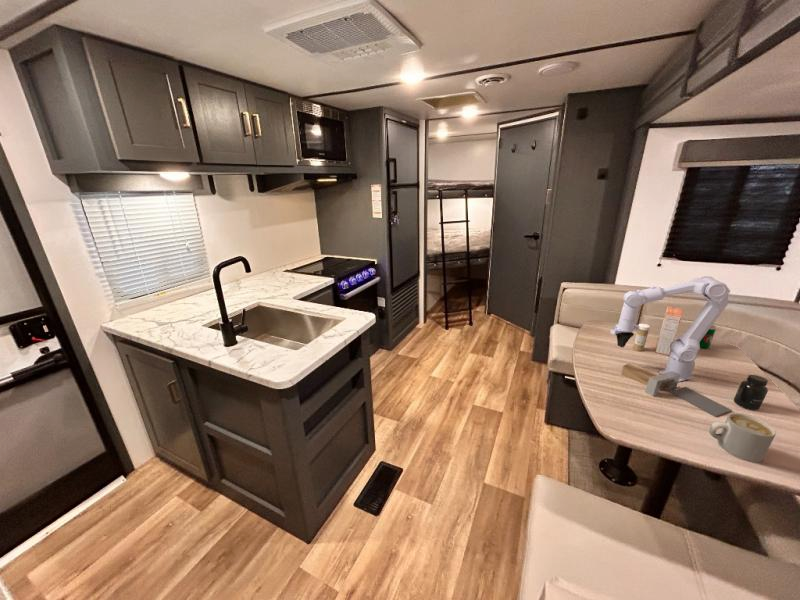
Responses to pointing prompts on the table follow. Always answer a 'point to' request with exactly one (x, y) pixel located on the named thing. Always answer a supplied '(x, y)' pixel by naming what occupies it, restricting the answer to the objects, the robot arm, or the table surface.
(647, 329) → the sprinkles bottle
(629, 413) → the table surface
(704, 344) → the soda can
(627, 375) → the wooden block
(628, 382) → the table surface
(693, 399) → the pad
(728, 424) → the coffee mug
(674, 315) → the cracker box
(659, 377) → the housing
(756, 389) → the supplement bottle
